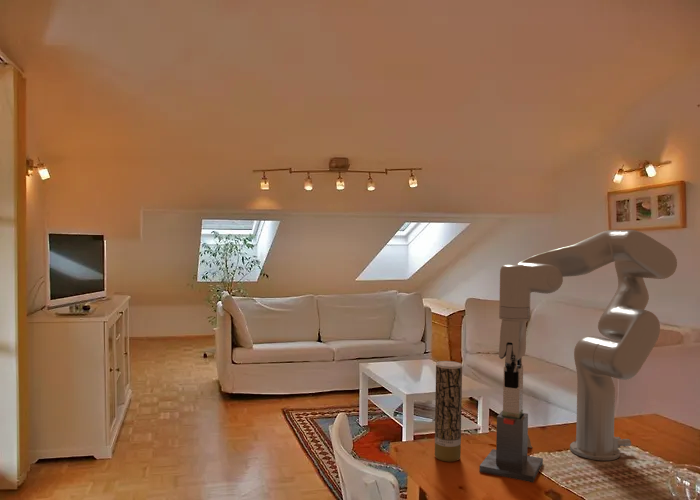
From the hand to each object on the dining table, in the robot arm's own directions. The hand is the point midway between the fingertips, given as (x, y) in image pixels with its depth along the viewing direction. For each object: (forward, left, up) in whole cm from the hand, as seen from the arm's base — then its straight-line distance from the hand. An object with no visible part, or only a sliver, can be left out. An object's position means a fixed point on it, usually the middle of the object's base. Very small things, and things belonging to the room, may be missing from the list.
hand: (513, 384), depth 148 cm
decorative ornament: (-9, -17, -22) cm, 29 cm away
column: (0, 0, -13) cm, 13 cm away
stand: (0, 0, -21) cm, 21 cm away
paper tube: (+14, -8, -21) cm, 27 cm away
